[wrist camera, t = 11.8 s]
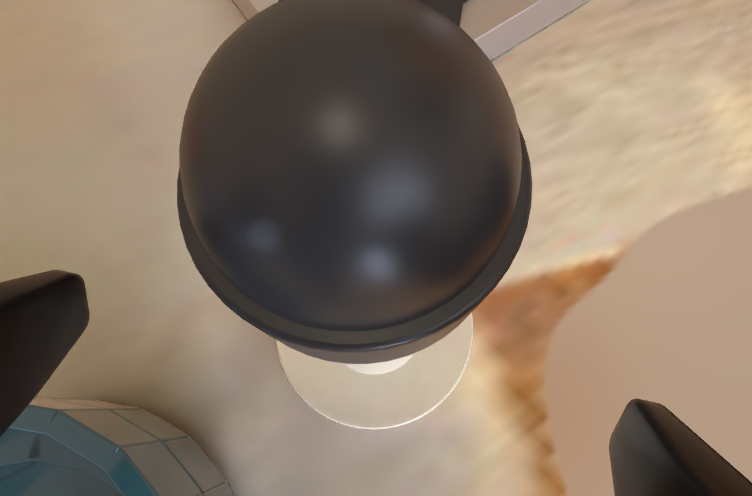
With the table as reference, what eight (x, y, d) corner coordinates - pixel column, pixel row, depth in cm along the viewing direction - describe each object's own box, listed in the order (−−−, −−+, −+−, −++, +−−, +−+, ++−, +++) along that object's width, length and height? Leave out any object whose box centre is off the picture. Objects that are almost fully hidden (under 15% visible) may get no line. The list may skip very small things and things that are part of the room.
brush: (486, 406, 16) (964, 412, 3) (297, 444, 16) (-154, 651, 3) (442, 229, 18) (603, -257, 5) (273, 261, 18) (-56, -161, 5)
